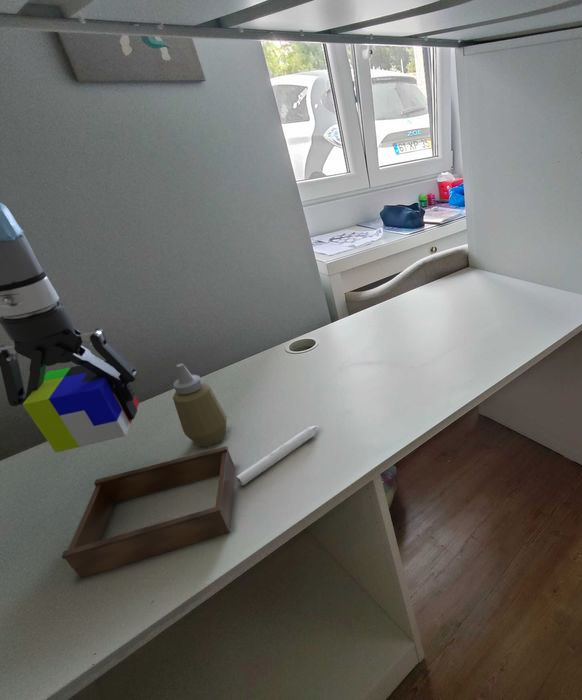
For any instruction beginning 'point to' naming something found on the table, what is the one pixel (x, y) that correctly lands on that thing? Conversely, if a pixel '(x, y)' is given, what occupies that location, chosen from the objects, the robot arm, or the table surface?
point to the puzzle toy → (77, 409)
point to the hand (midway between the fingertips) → (98, 423)
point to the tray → (136, 545)
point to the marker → (276, 455)
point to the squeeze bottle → (198, 409)
